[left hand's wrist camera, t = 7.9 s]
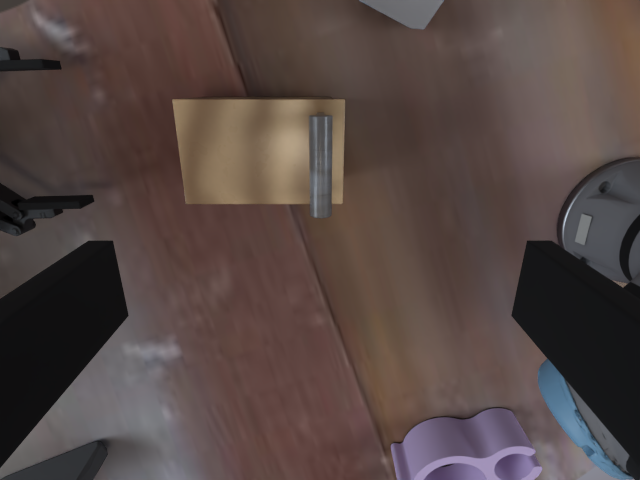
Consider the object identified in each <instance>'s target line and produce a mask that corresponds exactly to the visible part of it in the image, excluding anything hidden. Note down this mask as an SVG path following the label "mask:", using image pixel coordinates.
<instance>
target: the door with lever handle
mask: <svg viewBox="0 0 640 480" xmlns="http://www.w3.org/2000/svg"><path fill="white" fill-rule="evenodd" d="M172 102H173V109H174V117H175V125H176V132H177V140H178V147H179V155H180V163H181V170H182V178H183V186H184V193H185V201H186V204H310V216H312V217H315V218H327V217H330V216H331V215H332V204H343V176H344V131H345V99H173V100H172Z"/></svg>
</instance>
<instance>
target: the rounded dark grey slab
mask: <svg viewBox="0 0 640 480" xmlns="http://www.w3.org/2000/svg"><path fill="white" fill-rule="evenodd" d="M107 455H108V454H107V449H106V447H105V446H104V445H103V444H102V443H101V442H94V443H90V444H87V445H85V446H82V447H80V448H77V449H75V450H72V451H70V452H67V453H65V454H62V455H60V456H57V457H54V458H52V459H49V460H47V461H44V462H42V463H39V464H37V465H34V466H32V467H29V468H27V469H24V470H22V471H19V472H17V473H14V474H12V475H9V476H7V477H5V478H2V479H0V480H93V479H94V477H95V475H96V474H97V472H98V470H99V469H100V467H101V465H102V463H103V462H104V460H105V458H106V457H107Z"/></svg>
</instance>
